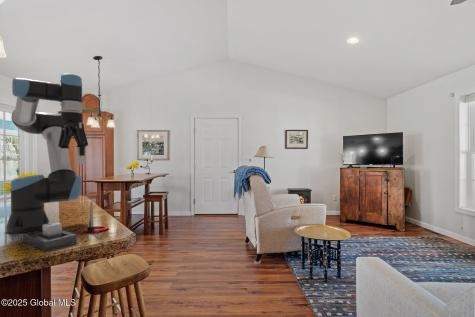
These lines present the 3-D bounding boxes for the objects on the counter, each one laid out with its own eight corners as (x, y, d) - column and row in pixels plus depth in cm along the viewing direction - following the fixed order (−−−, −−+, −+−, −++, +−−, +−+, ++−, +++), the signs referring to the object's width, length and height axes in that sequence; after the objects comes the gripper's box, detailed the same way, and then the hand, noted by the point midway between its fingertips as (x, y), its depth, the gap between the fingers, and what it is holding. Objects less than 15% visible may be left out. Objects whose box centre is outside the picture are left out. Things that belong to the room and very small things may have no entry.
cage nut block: (42, 244, 97) (42, 224, 97) (56, 240, 101) (56, 222, 101) (48, 246, 95) (47, 226, 95) (62, 242, 99) (61, 223, 99)
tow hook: (95, 228, 120) (80, 233, 111) (96, 199, 120) (81, 201, 111) (112, 228, 119) (98, 234, 109) (113, 199, 119) (99, 202, 110)
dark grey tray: (24, 241, 100) (24, 233, 100) (54, 235, 108) (54, 227, 108) (45, 251, 90) (45, 241, 90) (76, 242, 98) (76, 234, 98)
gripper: (48, 114, 115) (49, 163, 115) (77, 108, 101) (78, 164, 101) (67, 116, 121) (68, 163, 121) (97, 110, 107) (97, 163, 107)
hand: (72, 163), depth 111 cm, fingers open, 13 cm apart
